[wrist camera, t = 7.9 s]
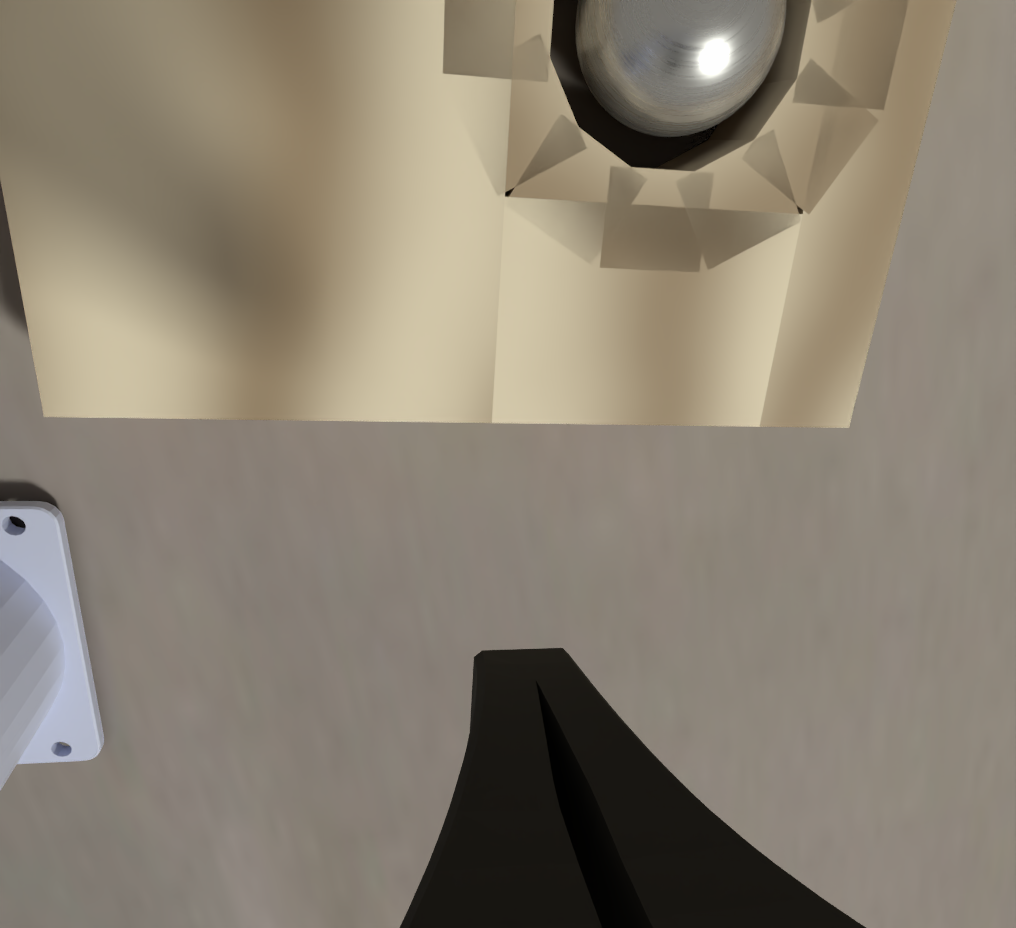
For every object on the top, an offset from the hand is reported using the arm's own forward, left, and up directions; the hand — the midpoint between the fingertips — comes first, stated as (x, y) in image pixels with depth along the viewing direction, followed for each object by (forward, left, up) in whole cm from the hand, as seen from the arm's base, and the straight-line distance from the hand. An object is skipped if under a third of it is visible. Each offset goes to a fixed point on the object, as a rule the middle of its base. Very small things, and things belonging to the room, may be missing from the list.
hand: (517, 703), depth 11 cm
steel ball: (+4, +10, -7) cm, 13 cm away
